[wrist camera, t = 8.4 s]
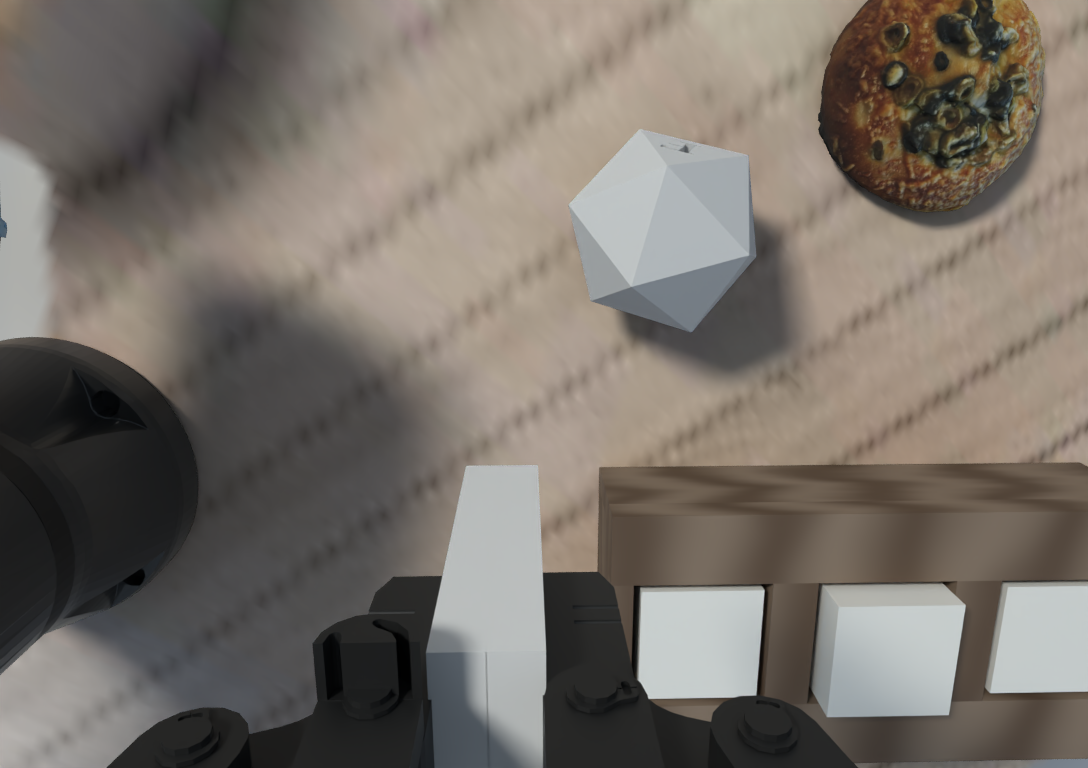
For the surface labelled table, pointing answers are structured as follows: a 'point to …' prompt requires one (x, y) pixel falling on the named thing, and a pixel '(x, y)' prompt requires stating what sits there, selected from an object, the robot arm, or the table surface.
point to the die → (665, 228)
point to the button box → (863, 577)
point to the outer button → (1040, 638)
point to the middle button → (885, 648)
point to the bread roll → (932, 97)
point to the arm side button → (697, 640)
